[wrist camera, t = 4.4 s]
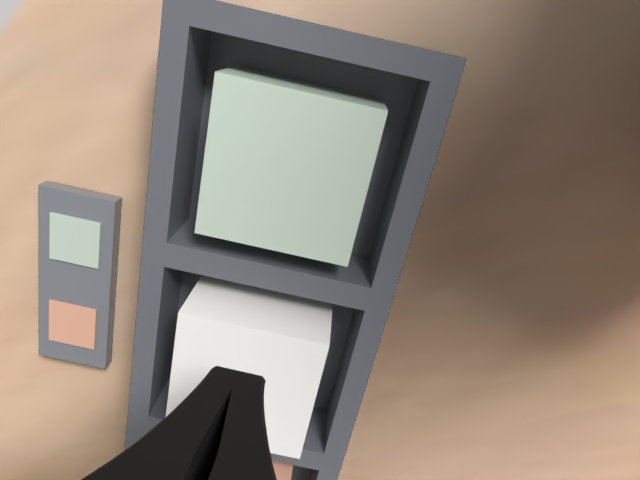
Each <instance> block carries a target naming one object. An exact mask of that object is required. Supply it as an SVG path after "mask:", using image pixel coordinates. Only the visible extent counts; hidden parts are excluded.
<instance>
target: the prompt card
mask: <svg viewBox="0 0 640 480" xmlns="http://www.w3.org/2000/svg"><path fill="white" fill-rule="evenodd" d="M121 204H122V197H117V196H113V195H108V194H104V193H99V192H95V191H90V190H86V189H81V188H77V187H72V186H68V185H63V184H59V183H54V182H50V181H46V182H44V183H42V184H40V185H38V217H39V355H42V356H46V357H51V358H56V359H60V360H65V361H70V362H74V363H79V364H84V365H88V366H93V367H98V368H102V369H106V367H107V366H108V365H109V363H110V362H111V357H112V341H113V326H114V311H115V295H116V280H117V265H118V250H119V234H120V219H121Z"/></svg>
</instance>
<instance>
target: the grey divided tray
mask: <svg viewBox="0 0 640 480" xmlns="http://www.w3.org/2000/svg"><path fill="white" fill-rule="evenodd" d="M465 62H466V58H462V57H457V56H453V55H449V54H444V53H440V52H436V51H431V50H427V49H423V48H418V47H414V46H410V45H405V44H401V43H397V42H393V41H388V40H384V39H380V38H375V37H371V36H367V35H362V34H358V33H354V32H349V31H345V30H341V29H337V28H332V27H328V26H324V25H319V24H315V23H311V22H306V21H302V20H298V19H293V18H289V17H285V16H280V15H276V14H272V13H268V12H263V11H259V10H255V9H250V8H246V7H242V6H237V5H233V4H229V3H224V2H220V1H216V0H163V6H162V18H161V29H160V41H159V53H158V65H157V77H156V88H155V100H154V112H153V124H152V135H151V147H150V159H149V171H148V183H147V194H146V206H145V218H144V230H143V241H142V253H141V265H140V277H139V289H138V300H137V312H136V324H135V336H134V347H133V359H132V371H131V383H130V395H129V406H128V418H127V430H126V442H125V450H126V449H128V448H129V447H130V446H132V445H133V444H134V443H136V442H137V441H138V440H139V439H141V438H142V437H143V436H144V435H146V434H147V433H148V432H149V431H150V430H151V429H153V428H154V427H155V426H156V425H157V424H158V423H160V422H161V421H162V420H163V419H164V418H165V417H166V408H167V400H168V392H169V384H170V376H171V367H172V359H173V351H174V343H175V334H176V326H177V318H178V312H179V310H180V309H181V307H182V306H183V304H184V302H185V301H186V299H187V298H188V296H189V295H190V293H191V291H192V290H193V288H194V287H195V285H196V284H197V282H198V280H199V279H200V277H201V276H202V275H204V276H208V277H213V278H218V279H222V280H227V281H231V282H236V283H240V284H245V285H249V286H254V287H258V288H263V289H268V290H272V291H277V292H281V293H286V294H290V295H295V296H299V297H304V298H309V299H313V300H318V301H322V302H327V303H331V304H333V309H332V322H331V334H330V346H329V350H328V354H327V357H326V361H325V365H324V369H323V373H322V376H321V380H320V384H319V388H318V392H317V395H316V399H315V403H314V407H313V411H312V414H311V418H310V422H309V426H308V430H307V433H306V437H305V441H304V445H303V449H302V452H301V456H300V459H297V458H292V457H287V456H282V455H278V454H273V453H270V454H271V458H272V461H276V462H281V463H286V464H290V465H293V469H292V476H291V480H337V479H338V476H339V472H340V469H341V466H342V463H343V459H344V456H345V453H346V450H347V446H348V443H349V440H350V437H351V433H352V430H353V427H354V424H355V420H356V417H357V414H358V411H359V407H360V404H361V401H362V398H363V394H364V391H365V388H366V385H367V381H368V378H369V375H370V372H371V368H372V365H373V362H374V359H375V355H376V352H377V349H378V346H379V342H380V339H381V336H382V332H383V329H384V326H385V323H386V319H387V316H388V313H389V310H390V306H391V303H392V300H393V297H394V293H395V290H396V287H397V284H398V280H399V277H400V274H401V271H402V267H403V264H404V261H405V258H406V254H407V251H408V248H409V245H410V241H411V238H412V235H413V232H414V228H415V225H416V222H417V219H418V215H419V212H420V209H421V206H422V202H423V199H424V196H425V192H426V189H427V186H428V183H429V179H430V176H431V173H432V170H433V166H434V163H435V160H436V157H437V153H438V150H439V147H440V144H441V140H442V137H443V134H444V131H445V127H446V124H447V121H448V118H449V114H450V111H451V108H452V105H453V101H454V98H455V95H456V92H457V88H458V85H459V82H460V79H461V75H462V72H463V69H464V66H465ZM234 66H242V67H246V68H251V69H255V70H259V71H264V72H268V73H272V74H277V75H281V76H286V77H290V78H294V79H299V80H303V81H307V82H312V83H316V84H320V85H325V86H329V87H333V88H338V89H342V90H347V91H351V92H355V93H360V94H364V95H368V96H373V97H377V98H381V99H383V101H384V103H385V105H386V107H387V109H388V114H387V118H386V122H385V126H384V129H383V133H382V137H381V141H380V145H379V149H378V152H377V156H376V160H375V164H374V168H373V172H372V175H371V179H370V183H369V187H368V191H367V195H366V198H365V202H364V206H363V210H362V214H361V218H360V221H359V225H358V229H357V233H356V237H355V241H354V244H353V248H352V252H351V256H350V260H349V264H348V267H346V266H341V265H337V264H332V263H327V262H323V261H318V260H314V259H309V258H305V257H300V256H296V255H291V254H287V253H282V252H278V251H273V250H269V249H264V248H260V247H255V246H251V245H246V244H242V243H237V242H233V241H228V240H224V239H219V238H215V237H210V236H206V235H201V234H196V233H194V232H195V224H196V216H197V208H198V201H199V193H200V185H201V177H202V169H203V161H204V153H205V146H206V138H207V130H208V122H209V114H210V106H211V98H212V90H213V83H214V75H215V71H219V70H222V69H226V68H230V67H234Z"/></svg>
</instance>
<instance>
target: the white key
mask: <svg viewBox="0 0 640 480" xmlns="http://www.w3.org/2000/svg"><path fill="white" fill-rule="evenodd" d="M332 309H333V304H331V303H327V302H322V301H318V300H313V299H309V298H304V297H299V296H295V295H290V294H286V293H281V292H277V291H272V290H268V289H263V288H258V287H254V286H249V285H245V284H240V283H236V282H231V281H227V280H222V279H218V278H213V277H208V276H204V275H202V276H201V277H200V279H199V280H198V282H197V284H196V285H195V287H194V288H193V290H192V291H191V293H190V295H189V296H188V298H187V299H186V301H185V302H184V304H183V306H182V307H181V309H180V310H179V312H178V318H177V326H176V334H175V343H174V351H173V359H172V367H171V376H170V384H169V392H168V400H167V408H166V416H168V415H169V414H170V413H171V412H172V411H173V410H174V409H175V408H176V407H177V406H178V405H179V404H180V403H181V402H182V401H183V400H184V399H185V398H186V397H187V396H188V395H189V394H190V393H191V392H192V391H193V390H194V389H195V388H196V387H197V386H198V384H199V383H200V382H201V381H202V380H203V379H204V378H205V376H206V375H207V374H208V373H209V371H210V370H211V369H212V368H213V367H215V366H220V367H224V368H229V369H233V370H237V371H242V372H246V373H251V374H255V375H260V376H263V378H264V379H265V380H266V382H265V387H264V413H265V423H266V430H267V437H268V443H269V449H270V453H273V454H278V455H282V456H287V457H292V458H297V459H300V456H301V452H302V449H303V445H304V441H305V437H306V433H307V430H308V426H309V422H310V418H311V414H312V411H313V407H314V403H315V399H316V395H317V392H318V388H319V384H320V380H321V376H322V373H323V369H324V365H325V361H326V357H327V354H328V350H329V346H330V334H331V322H332Z"/></svg>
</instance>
